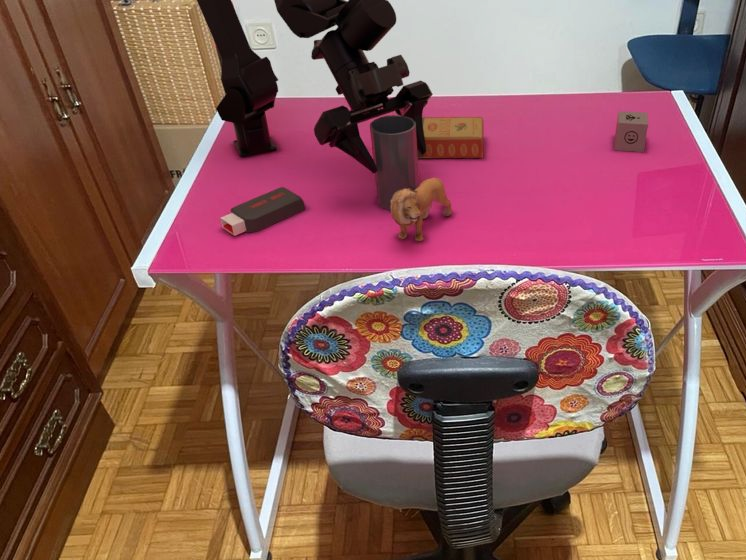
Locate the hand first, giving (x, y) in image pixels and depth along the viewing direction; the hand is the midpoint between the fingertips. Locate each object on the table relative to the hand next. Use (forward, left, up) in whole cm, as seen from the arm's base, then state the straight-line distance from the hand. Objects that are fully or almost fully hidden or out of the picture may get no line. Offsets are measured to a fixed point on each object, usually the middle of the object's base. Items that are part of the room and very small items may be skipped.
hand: (400, 162), depth 109 cm
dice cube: (-1, +44, -7) cm, 44 cm away
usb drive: (-5, -21, -7) cm, 23 cm away
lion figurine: (+9, 0, -7) cm, 11 cm away
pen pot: (-1, 0, -7) cm, 7 cm away
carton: (-15, +13, -7) cm, 21 cm away
